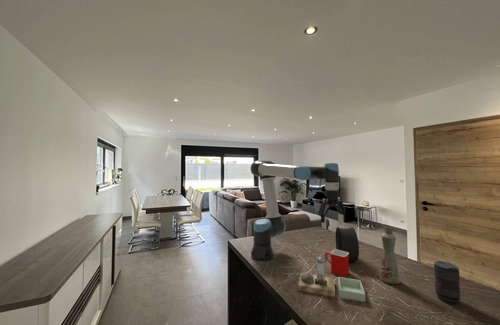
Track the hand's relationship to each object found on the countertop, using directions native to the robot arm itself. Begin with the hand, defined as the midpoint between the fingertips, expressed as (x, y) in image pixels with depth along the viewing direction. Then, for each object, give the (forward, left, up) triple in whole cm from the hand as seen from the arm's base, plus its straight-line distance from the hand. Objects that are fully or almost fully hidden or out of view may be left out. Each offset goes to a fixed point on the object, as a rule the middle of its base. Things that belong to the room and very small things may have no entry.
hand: (332, 226), depth 118 cm
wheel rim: (+9, +18, -24) cm, 31 cm away
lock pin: (-6, -21, -24) cm, 33 cm away
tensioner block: (-8, -21, -24) cm, 33 cm away
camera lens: (+46, -13, -24) cm, 53 cm away
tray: (+7, -21, -24) cm, 33 cm away
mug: (+2, -1, -24) cm, 24 cm away
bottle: (+27, -3, -24) cm, 36 cm away
